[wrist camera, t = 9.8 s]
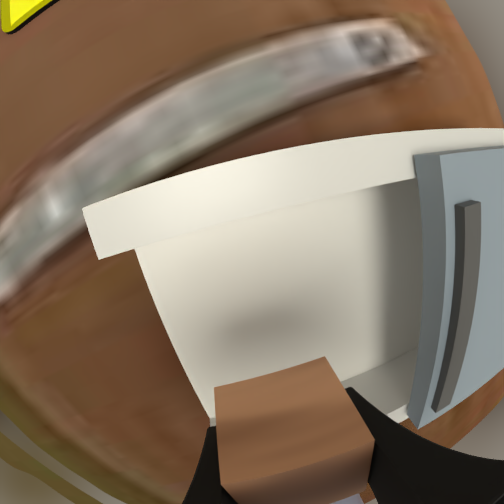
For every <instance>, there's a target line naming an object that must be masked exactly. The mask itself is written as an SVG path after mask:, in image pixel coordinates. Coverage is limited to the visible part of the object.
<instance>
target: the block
mask: <svg viewBox="0 0 504 504" xmlns="http://www.w3.org/2000/svg"><path fill="white" fill-rule="evenodd" d="M214 400H215V417H216V432H217V445H218V458H219V469H220V480H221V485H222V486H223V487H224V489H225V490H226V491H227V492H228V493H229V494H230V495H231V496H232V498H233V499H234V500H235V501H236V502H237V503H238V504H331V503H334V502H337V501H339V500H342V499H345V498H348V497H350V496H353V495H355V494H358V493H360V492H363V491H365V490H366V486H367V481H368V476H369V471H370V466H371V460H372V454H373V448H374V442H375V439H374V437H373V436H372V434H371V432H370V431H369V429H368V427H367V426H366V424H365V422H364V421H363V419H362V417H361V415H360V414H359V412H358V410H357V409H356V407H355V405H354V404H353V402H352V400H351V399H350V397H349V395H348V394H347V392H346V390H345V389H344V387H343V385H342V384H341V382H340V380H339V379H338V377H337V375H336V374H335V372H334V370H333V369H332V367H331V365H330V364H329V362H328V360H327V359H326V357H325V356H324V357H321V358H318V359H315V360H312V361H309V362H306V363H303V364H300V365H296V366H293V367H290V368H287V369H283V370H280V371H277V372H273V373H270V374H266V375H262V376H259V377H255V378H251V379H247V380H243V381H239V382H235V383H231V384H226V385H222V386H218V387H214Z"/></svg>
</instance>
